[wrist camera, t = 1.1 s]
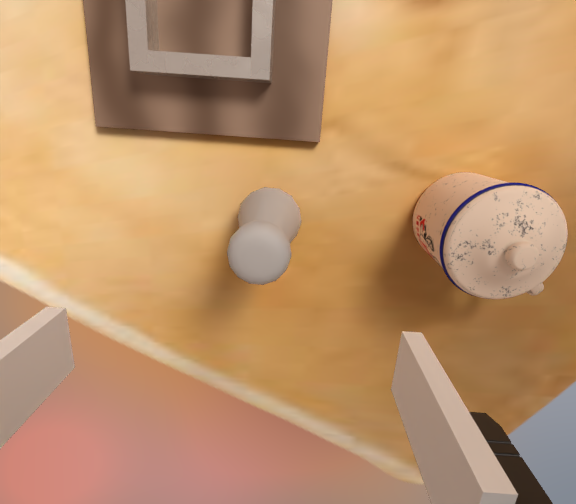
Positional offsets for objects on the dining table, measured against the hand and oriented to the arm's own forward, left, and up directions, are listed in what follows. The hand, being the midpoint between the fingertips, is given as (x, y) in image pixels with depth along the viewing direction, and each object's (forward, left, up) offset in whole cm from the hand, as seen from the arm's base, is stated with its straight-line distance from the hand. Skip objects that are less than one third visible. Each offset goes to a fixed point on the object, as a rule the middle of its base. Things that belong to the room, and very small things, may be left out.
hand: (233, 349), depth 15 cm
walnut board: (+6, -17, -23) cm, 29 cm away
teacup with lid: (-19, 0, -23) cm, 30 cm away
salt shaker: (0, 0, -23) cm, 23 cm away
